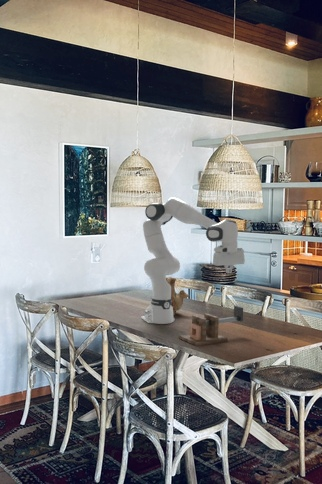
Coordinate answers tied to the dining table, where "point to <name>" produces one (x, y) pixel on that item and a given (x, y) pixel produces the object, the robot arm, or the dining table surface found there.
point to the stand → (205, 331)
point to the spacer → (198, 331)
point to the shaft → (237, 317)
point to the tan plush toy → (176, 295)
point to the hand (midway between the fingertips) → (228, 272)
